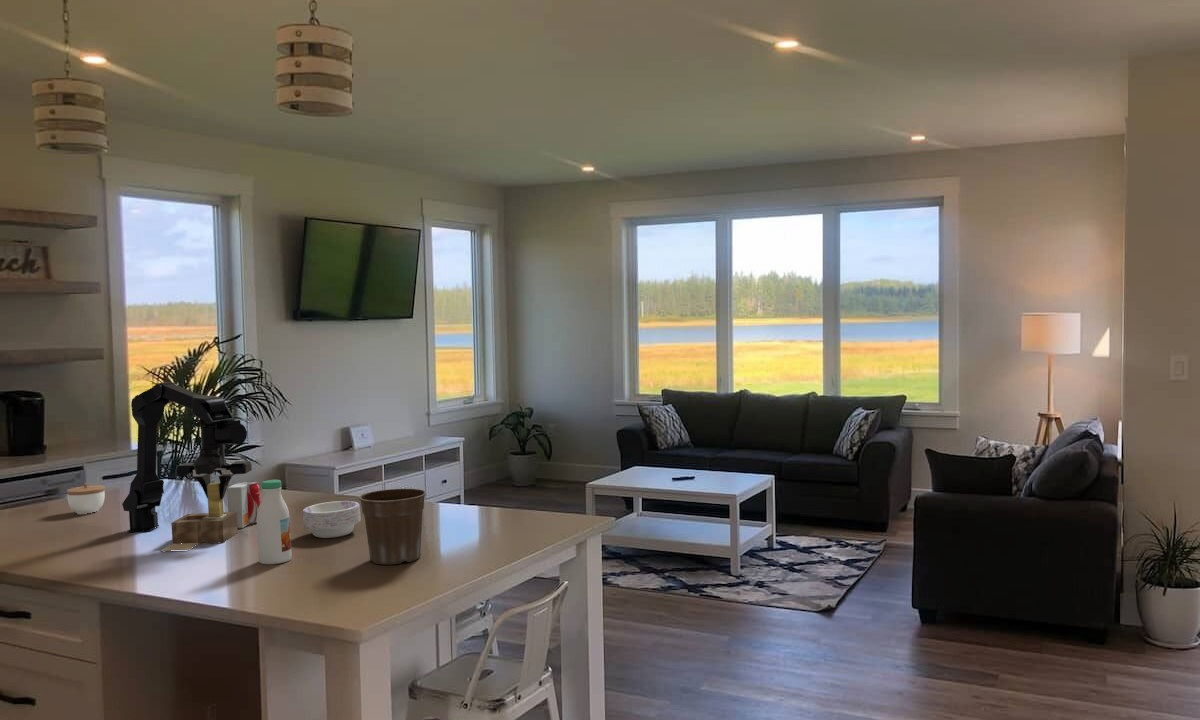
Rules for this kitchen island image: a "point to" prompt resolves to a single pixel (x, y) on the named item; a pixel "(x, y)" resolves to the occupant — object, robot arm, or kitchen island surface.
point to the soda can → (252, 500)
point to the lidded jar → (86, 498)
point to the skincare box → (238, 503)
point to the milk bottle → (273, 525)
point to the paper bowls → (331, 518)
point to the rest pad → (180, 546)
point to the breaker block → (204, 528)
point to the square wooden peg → (214, 500)
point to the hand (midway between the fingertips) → (215, 499)
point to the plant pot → (393, 524)
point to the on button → (217, 517)
